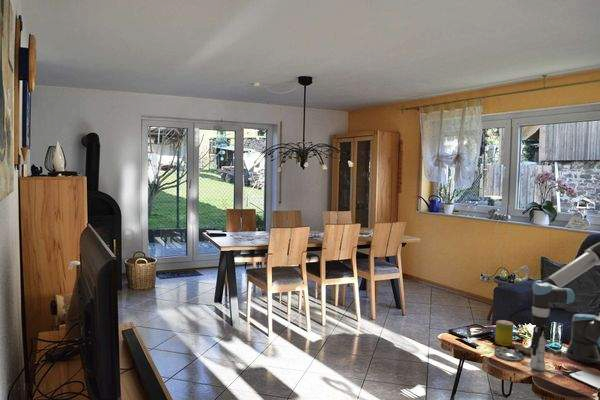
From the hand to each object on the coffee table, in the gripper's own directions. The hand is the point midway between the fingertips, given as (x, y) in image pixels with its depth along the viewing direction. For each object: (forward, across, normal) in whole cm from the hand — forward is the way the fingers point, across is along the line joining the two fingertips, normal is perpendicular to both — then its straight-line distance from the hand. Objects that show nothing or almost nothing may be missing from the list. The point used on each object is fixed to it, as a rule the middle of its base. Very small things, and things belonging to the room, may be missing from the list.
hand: (537, 357), depth 232 cm
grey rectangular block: (+6, -18, -10) cm, 22 cm away
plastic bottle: (+7, 0, 0) cm, 7 cm away
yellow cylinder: (+7, -27, -24) cm, 37 cm away
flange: (+6, -9, -16) cm, 19 cm away
